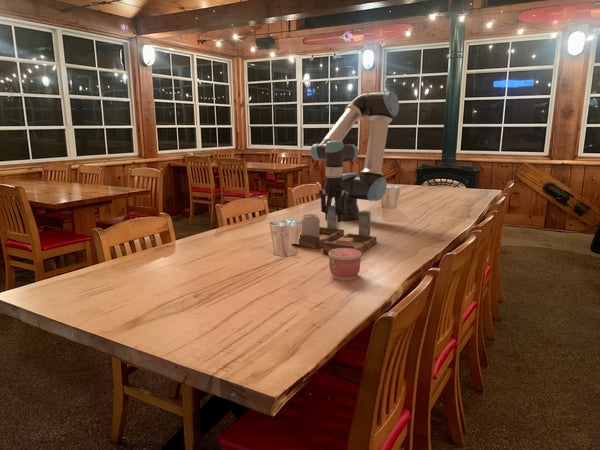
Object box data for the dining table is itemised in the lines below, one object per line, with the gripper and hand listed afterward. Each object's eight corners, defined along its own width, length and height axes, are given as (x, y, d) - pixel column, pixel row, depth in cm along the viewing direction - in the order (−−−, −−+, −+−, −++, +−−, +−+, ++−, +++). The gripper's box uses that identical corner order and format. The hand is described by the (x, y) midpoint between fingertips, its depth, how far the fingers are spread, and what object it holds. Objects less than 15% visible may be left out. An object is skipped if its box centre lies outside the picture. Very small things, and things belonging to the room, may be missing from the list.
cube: (340, 249, 172) (341, 237, 170) (353, 250, 170) (353, 238, 169) (337, 252, 167) (337, 240, 166) (350, 254, 165) (350, 241, 164)
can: (318, 246, 175) (318, 217, 172) (299, 245, 176) (299, 216, 174) (320, 241, 182) (320, 213, 179) (303, 241, 183) (303, 213, 181)
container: (327, 270, 147) (328, 247, 145) (359, 270, 146) (359, 247, 144) (328, 281, 136) (329, 257, 135) (362, 281, 136) (363, 257, 134)
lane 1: (322, 229, 202) (323, 204, 199) (347, 233, 195) (348, 206, 193) (291, 244, 178) (291, 215, 175) (318, 248, 172) (318, 218, 169)
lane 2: (352, 236, 189) (353, 209, 186) (379, 240, 183) (380, 212, 180) (322, 253, 166) (323, 222, 163) (352, 257, 159) (353, 226, 157)
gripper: (313, 176, 192) (313, 228, 197) (347, 178, 184) (346, 232, 189) (321, 174, 198) (320, 224, 204) (354, 176, 190) (353, 228, 196)
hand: (333, 228), depth 196 cm, fingers closed on lane 1, 3 cm apart
